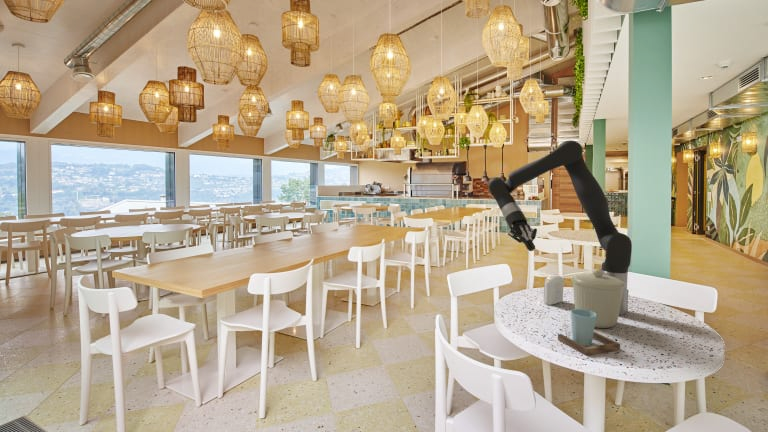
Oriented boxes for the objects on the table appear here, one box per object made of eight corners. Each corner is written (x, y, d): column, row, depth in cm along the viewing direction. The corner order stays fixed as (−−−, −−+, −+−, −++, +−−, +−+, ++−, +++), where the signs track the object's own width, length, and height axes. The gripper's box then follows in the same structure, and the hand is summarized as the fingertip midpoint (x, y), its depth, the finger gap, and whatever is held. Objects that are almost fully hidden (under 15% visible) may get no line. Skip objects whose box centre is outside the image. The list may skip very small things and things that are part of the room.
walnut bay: (589, 334, 130) (589, 329, 130) (619, 349, 119) (620, 343, 118) (557, 339, 127) (557, 334, 126) (586, 355, 115) (586, 349, 115)
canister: (619, 337, 128) (622, 277, 126) (563, 324, 140) (565, 270, 138) (627, 321, 142) (630, 268, 140) (576, 311, 154) (577, 261, 152)
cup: (600, 344, 123) (601, 314, 122) (586, 349, 119) (587, 318, 118) (578, 336, 129) (579, 307, 128) (564, 341, 126) (565, 311, 125)
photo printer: (555, 299, 170) (556, 272, 169) (564, 301, 167) (565, 274, 165) (542, 303, 164) (542, 276, 163) (550, 306, 161) (551, 278, 160)
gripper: (503, 210, 149) (522, 245, 138) (531, 209, 153) (551, 243, 142) (496, 222, 155) (513, 256, 144) (522, 220, 158) (541, 254, 148)
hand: (532, 249), depth 143 cm, fingers closed
